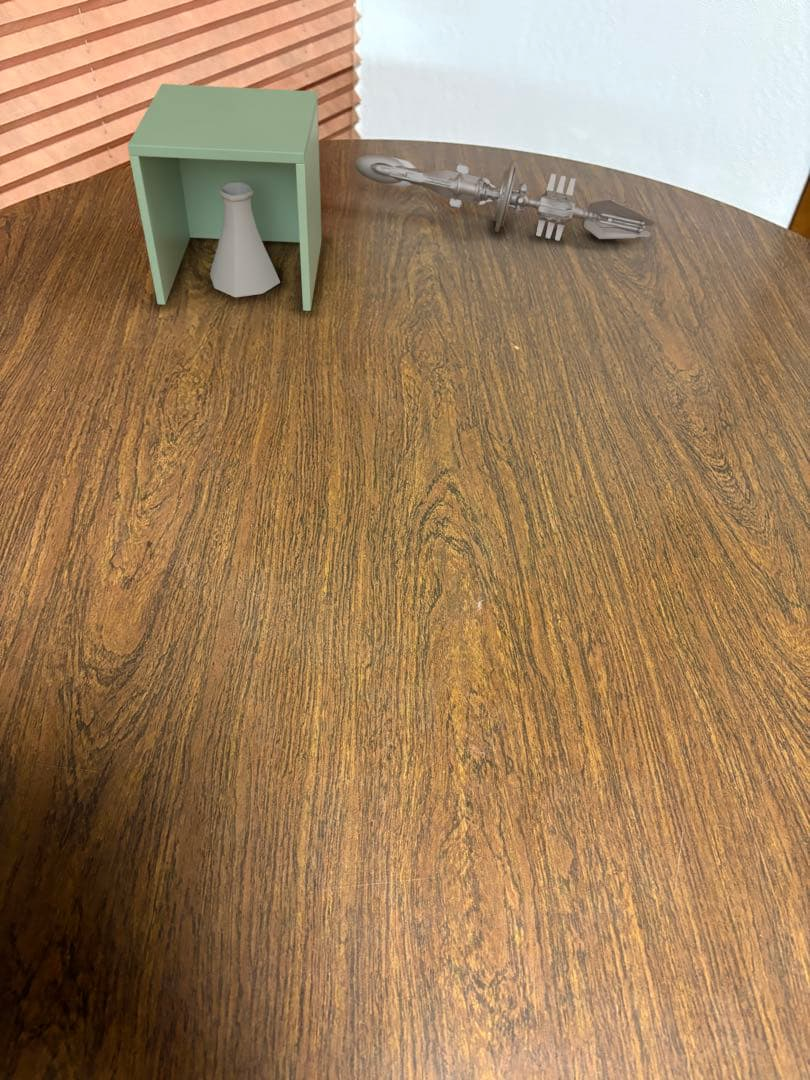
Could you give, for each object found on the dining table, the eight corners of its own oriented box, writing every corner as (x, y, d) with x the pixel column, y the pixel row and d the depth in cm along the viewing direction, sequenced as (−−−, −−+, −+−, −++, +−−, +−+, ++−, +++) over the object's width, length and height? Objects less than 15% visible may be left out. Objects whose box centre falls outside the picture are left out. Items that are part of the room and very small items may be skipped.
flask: (231, 306, 88) (220, 212, 81) (198, 275, 92) (185, 183, 84) (292, 286, 91) (286, 194, 84) (257, 257, 95) (249, 166, 87)
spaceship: (365, 126, 101) (355, 124, 94) (656, 191, 101) (668, 194, 93) (353, 197, 104) (343, 200, 97) (635, 260, 104) (645, 268, 97)
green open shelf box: (310, 311, 88) (304, 153, 76) (157, 304, 87) (127, 144, 76) (321, 240, 98) (317, 91, 86) (184, 234, 98) (161, 83, 86)
